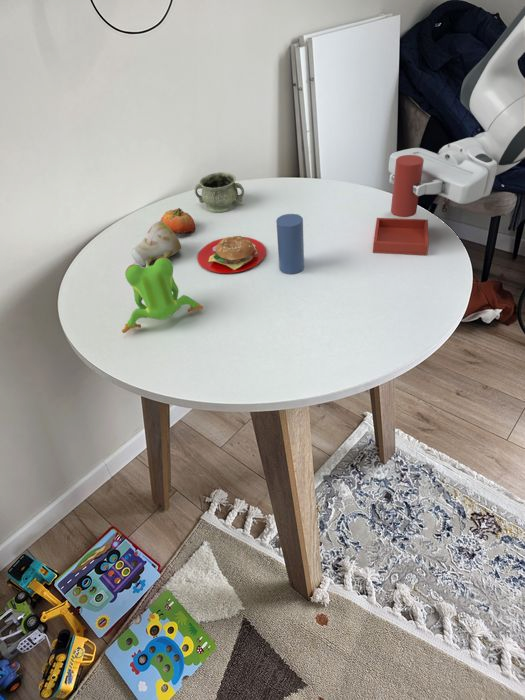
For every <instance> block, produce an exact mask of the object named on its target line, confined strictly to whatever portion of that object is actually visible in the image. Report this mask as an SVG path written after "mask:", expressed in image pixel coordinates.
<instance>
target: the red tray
mask: <svg viewBox="0 0 525 700" xmlns="http://www.w3.org/2000/svg"><path fill="white" fill-rule="evenodd" d="M428 251H429V219H425V218H423V219H421V218H400V217H397V218H396V217H395V218H394V217H376V221H375V228H374V236H373V244H372V253H373V254H391V255H409V256H410V255H412V256H428Z"/></svg>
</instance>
